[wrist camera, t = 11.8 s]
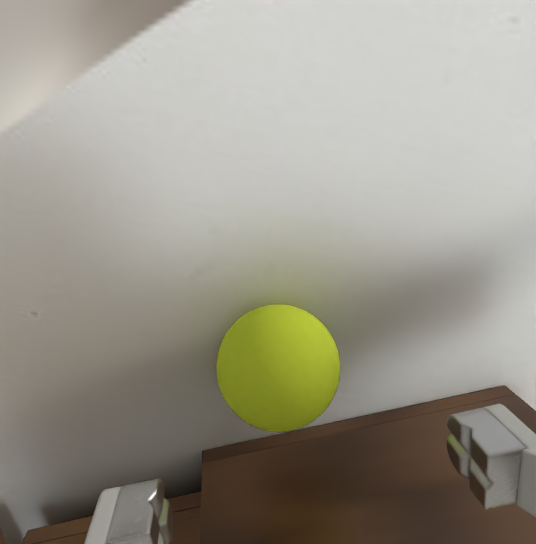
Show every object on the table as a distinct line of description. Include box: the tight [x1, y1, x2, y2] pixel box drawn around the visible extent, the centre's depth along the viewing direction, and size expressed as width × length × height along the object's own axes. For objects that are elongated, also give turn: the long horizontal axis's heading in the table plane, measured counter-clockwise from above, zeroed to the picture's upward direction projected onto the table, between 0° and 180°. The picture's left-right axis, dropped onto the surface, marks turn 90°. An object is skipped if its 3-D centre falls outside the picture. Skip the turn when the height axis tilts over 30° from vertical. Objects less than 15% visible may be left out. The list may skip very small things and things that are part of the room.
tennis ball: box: [216, 304, 340, 432], centre depth 16 cm, size 5×5×5 cm
